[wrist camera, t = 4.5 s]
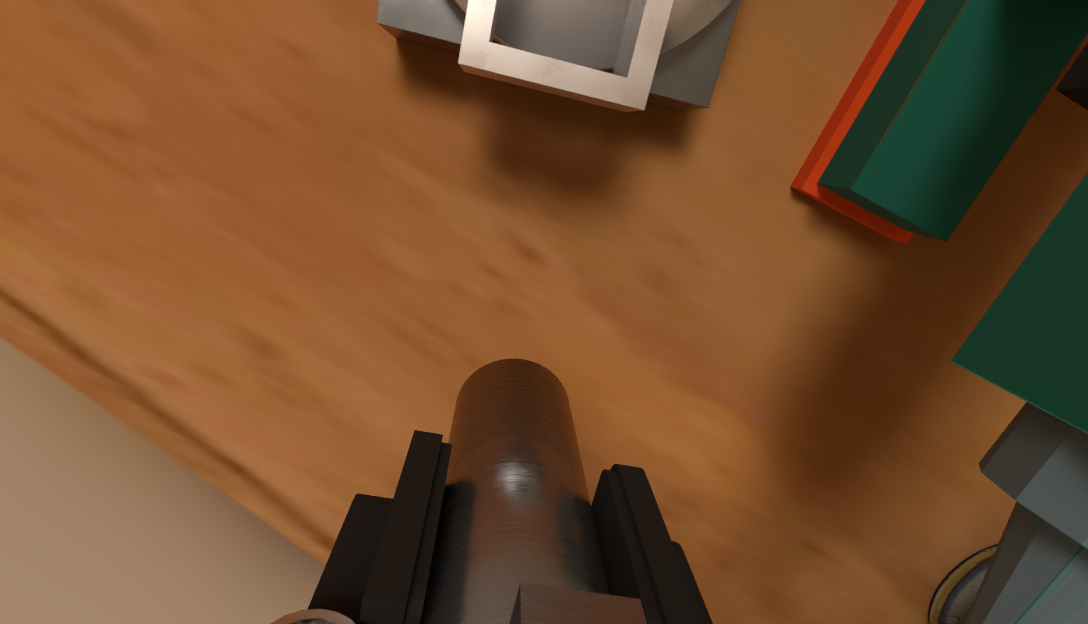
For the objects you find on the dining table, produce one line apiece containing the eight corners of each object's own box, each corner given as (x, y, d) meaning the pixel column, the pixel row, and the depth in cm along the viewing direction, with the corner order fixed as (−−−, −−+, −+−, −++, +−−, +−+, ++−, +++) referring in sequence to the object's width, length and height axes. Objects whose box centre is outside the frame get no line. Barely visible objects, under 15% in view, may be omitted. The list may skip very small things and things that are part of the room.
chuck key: (595, 316, 14) (770, 709, 5) (542, 512, 16) (590, 1084, 6) (478, 293, 14) (407, 667, 4) (437, 496, 16) (324, 1077, 6)
